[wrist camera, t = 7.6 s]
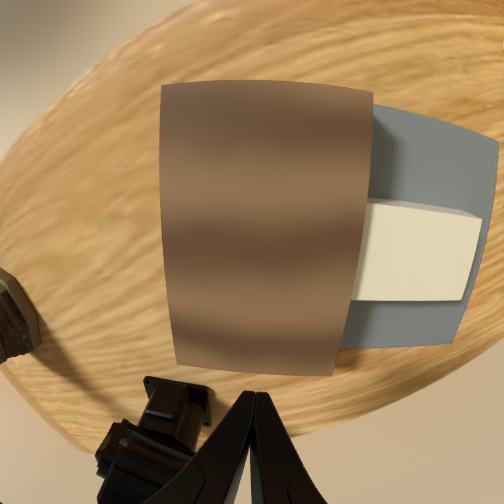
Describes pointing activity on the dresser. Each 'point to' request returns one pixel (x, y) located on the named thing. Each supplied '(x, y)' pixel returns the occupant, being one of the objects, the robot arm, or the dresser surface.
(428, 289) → the tile
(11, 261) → the dresser surface
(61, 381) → the dresser surface
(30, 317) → the dark bronze flared piece
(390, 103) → the dresser surface
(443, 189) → the mat
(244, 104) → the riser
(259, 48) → the dresser surface
